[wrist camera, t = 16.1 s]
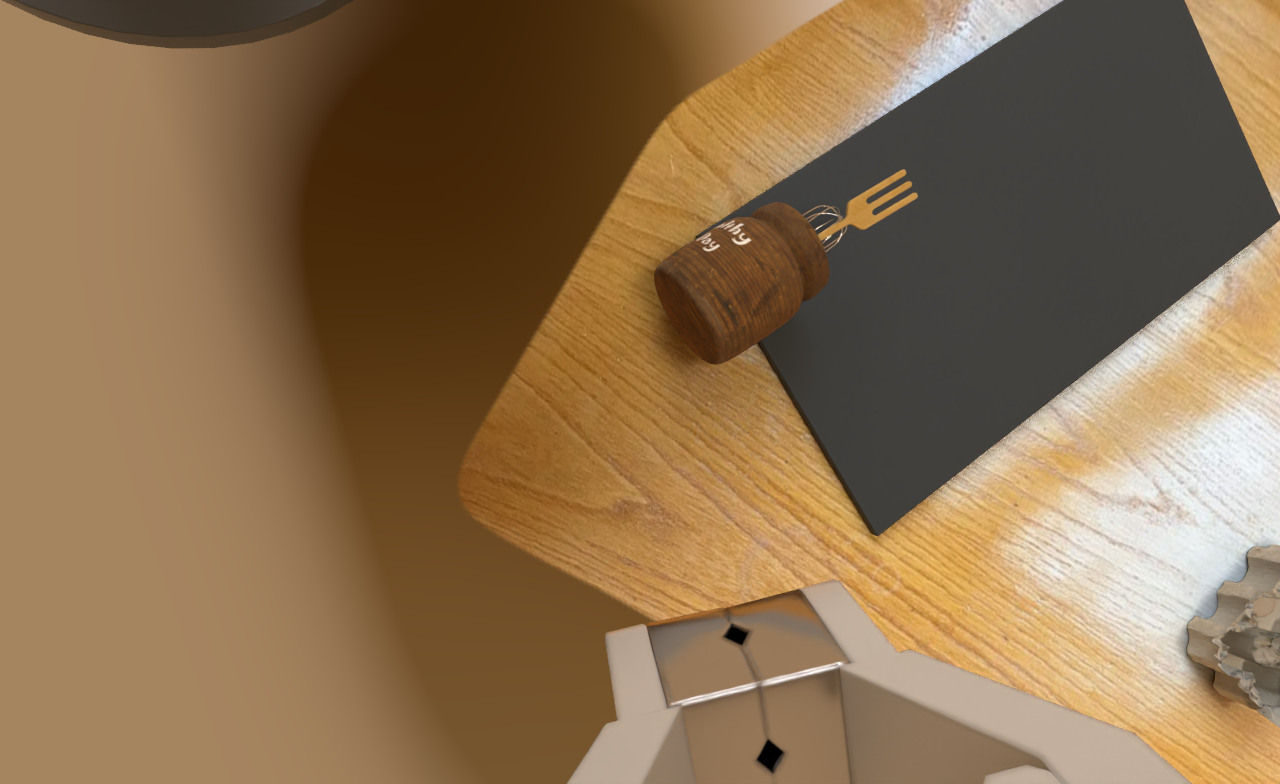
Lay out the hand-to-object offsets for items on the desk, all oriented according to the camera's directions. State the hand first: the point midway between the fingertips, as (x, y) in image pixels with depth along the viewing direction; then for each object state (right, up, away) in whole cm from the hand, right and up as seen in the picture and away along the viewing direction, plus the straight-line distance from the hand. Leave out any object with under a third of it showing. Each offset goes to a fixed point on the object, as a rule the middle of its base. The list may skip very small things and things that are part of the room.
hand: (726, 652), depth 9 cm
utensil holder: (+1, +7, +25) cm, 26 cm away
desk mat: (+22, +13, +34) cm, 42 cm away
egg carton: (+40, -12, +40) cm, 58 cm away
